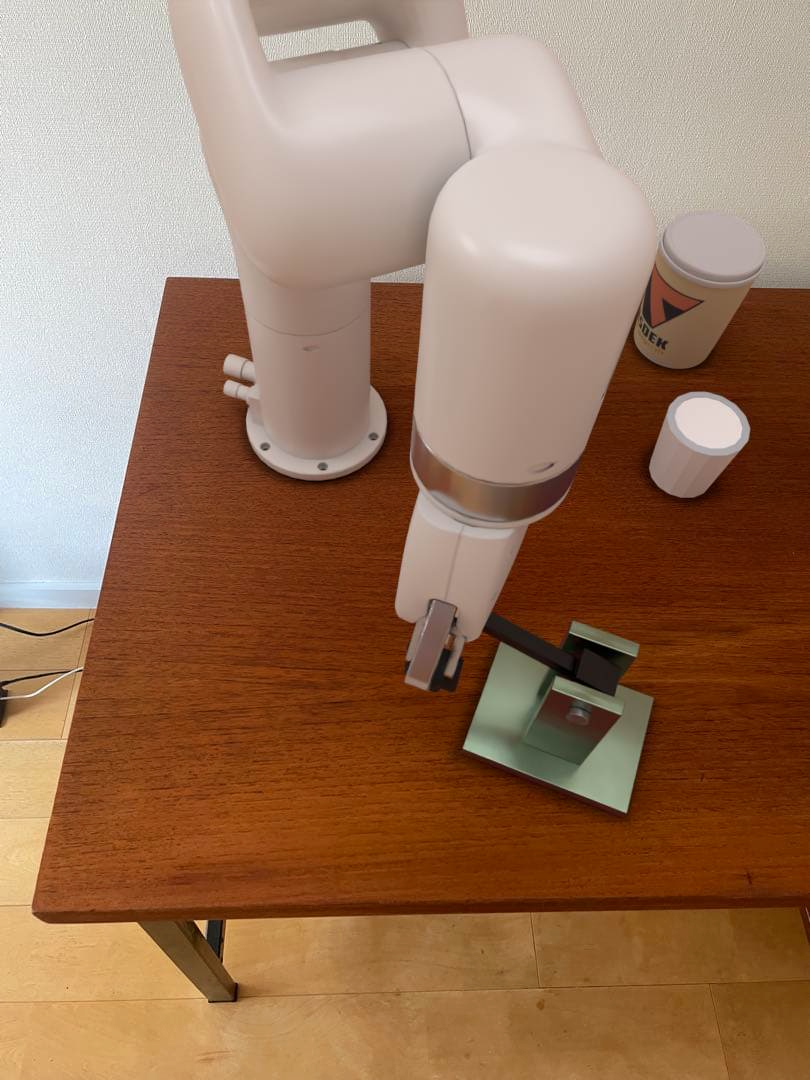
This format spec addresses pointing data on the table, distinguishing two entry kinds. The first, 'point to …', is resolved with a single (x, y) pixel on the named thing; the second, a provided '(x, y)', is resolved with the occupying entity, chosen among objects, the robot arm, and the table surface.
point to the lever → (555, 656)
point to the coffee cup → (696, 286)
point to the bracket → (563, 723)
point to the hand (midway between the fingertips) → (457, 611)
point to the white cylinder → (697, 443)
